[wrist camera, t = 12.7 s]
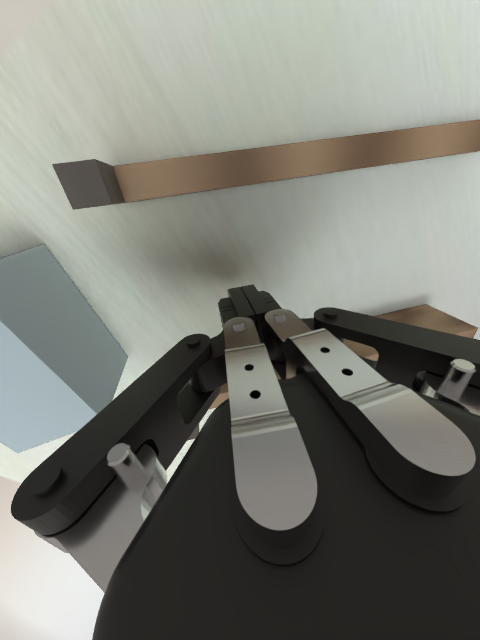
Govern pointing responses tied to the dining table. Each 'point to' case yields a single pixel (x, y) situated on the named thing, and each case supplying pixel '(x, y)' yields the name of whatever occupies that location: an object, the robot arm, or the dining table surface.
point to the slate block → (50, 353)
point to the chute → (272, 165)
